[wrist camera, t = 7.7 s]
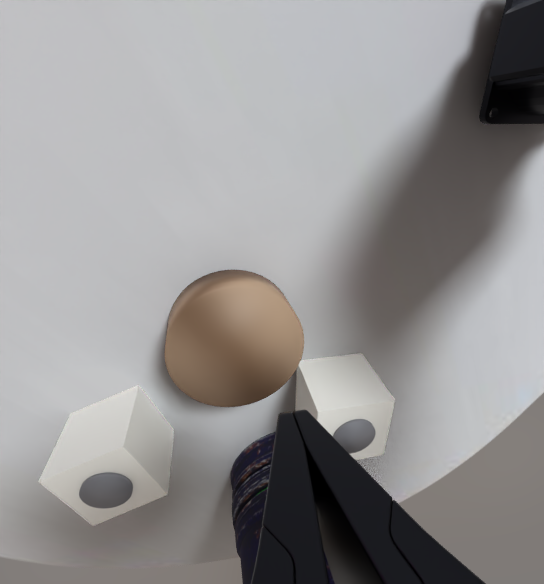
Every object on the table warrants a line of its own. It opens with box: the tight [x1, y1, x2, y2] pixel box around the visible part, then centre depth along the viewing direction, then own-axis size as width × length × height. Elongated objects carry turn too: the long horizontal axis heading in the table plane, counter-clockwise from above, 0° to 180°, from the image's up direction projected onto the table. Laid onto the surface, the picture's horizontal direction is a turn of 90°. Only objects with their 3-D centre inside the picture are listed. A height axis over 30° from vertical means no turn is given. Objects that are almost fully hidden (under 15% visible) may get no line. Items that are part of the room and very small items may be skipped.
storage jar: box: [231, 432, 335, 584], centre depth 22 cm, size 10×10×15 cm
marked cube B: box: [39, 385, 174, 526], centre depth 21 cm, size 5×5×5 cm
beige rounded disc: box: [165, 270, 304, 407], centre depth 20 cm, size 8×8×3 cm
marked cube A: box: [295, 353, 395, 460], centre depth 23 cm, size 5×5×5 cm
